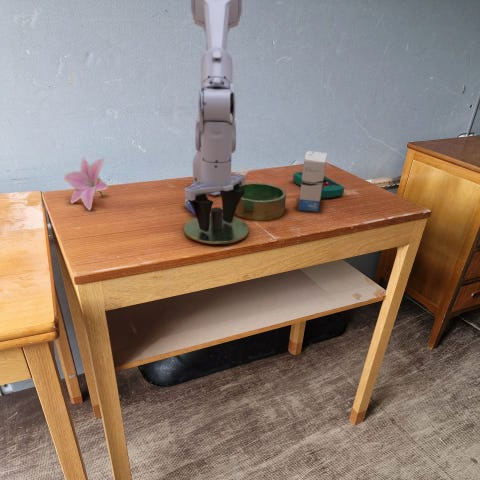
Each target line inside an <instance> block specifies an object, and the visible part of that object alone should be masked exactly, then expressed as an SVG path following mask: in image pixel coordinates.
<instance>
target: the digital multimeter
mask: <svg viewBox="0 0 480 480" xmlns="http://www.w3.org/2000/svg"><path fill="white" fill-rule="evenodd" d="M302 175H303V171H297V172H294V173H293V176H292V181H293V182H294V183H295V184H297V185H298V186H300V187H301V183H302ZM344 191H345V187H344V186H343V185H342V184H340V183H338V182H336V181H335V180H333V179H331V178H329V177H327V176H325V175H324V180H323V186H322V192H321V198H320V200H322V199H331V198H338V197H342V196H343V195H344Z"/></svg>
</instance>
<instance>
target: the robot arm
mask: <svg viewBox="0 0 480 480" xmlns="http://www.w3.org/2000/svg"><path fill="white" fill-rule="evenodd" d="M190 9H191V10H190V11H191V16H192V20H193V21H194V25H196V26H198V27H201V28H202V30H203V32H204V34H205V39H206V43H205V44H206V50H205V51H204V52H203V54H202V55H201V58H200V90H198V93H197V98H198V99H197V111H198V113H197V114H198V116H197V117H196V119H195V129H194V130H195V131H194V133H195V134H194V135H195V136H194V137H195V138H194V141H195V142H194V143H195V150H196V151H197V152H195V154H194V156H193V158H192V183H191V184H190V185H189V186H187V187H184V198H185V200H186V199H188V201H189V202H190V204H191V206H192V207H193V209H194V212H195V214H196V216H195V218H197V220H198V224H199V227H200V229H201V230H203V231H205V232H207V231H209V226H210V216H211V208H213V205H214V201H213V200H212V199H209V197H208V196H207V195H211V196H219V195H220V199H221V206H222V208H221V209H222V216H223V220H224V221H226V222H228V223H232V221H233V218H235V211H236V208H237V205H238V203H239V201H240V199H241V198H242V196H243V195H244V189H243V188H240V187H239V186H240V185H241V186H243V185H245V184H246V177H247V175H245V174H242V173H234V174H232V155H233V154H234V152H235V151H236V150H237V149H236V148H237V122H236V104H237V103H236V102H237V101H236V92H235V86H234V85H235V84H234V81H233V57H232V56H231V54H230V53H229V52H228V51H227V45H228V44H227V42H228V34H229V31H230V30H231V29H233V28H235V27H238V26H239V23H240V20H241V16H242V11H243V10H242V9H243V0H190Z"/></svg>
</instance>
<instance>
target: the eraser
mask: <svg viewBox="0 0 480 480" xmlns="http://www.w3.org/2000/svg"><path fill="white" fill-rule="evenodd" d="M184 205H185V208H186V209H187V210H188V211H189V212H191V213H192V214H193V216H194V217H196V214H195V212H194V209H193V207H192V206H191V204H190V202H189V201H188V199H186V198H185V199H184Z"/></svg>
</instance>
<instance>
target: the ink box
mask: <svg viewBox="0 0 480 480" xmlns="http://www.w3.org/2000/svg"><path fill="white" fill-rule="evenodd" d="M327 157H328V152H320V151H316V150H315V151H314V150H307V151H306V153H305V156H304V157H303V158H304V161H303V167H302V172H303V175H302V183H301V186H300V192H299V198H298V199H299V200H298V207H297V208H298V209H297V210H298V211H305V212H314V213H318V212H319V209H320V203H321V199H320V198H321V192H322V186H323V180H324V176H325V173H326V166H327V165H326V164H327Z"/></svg>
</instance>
